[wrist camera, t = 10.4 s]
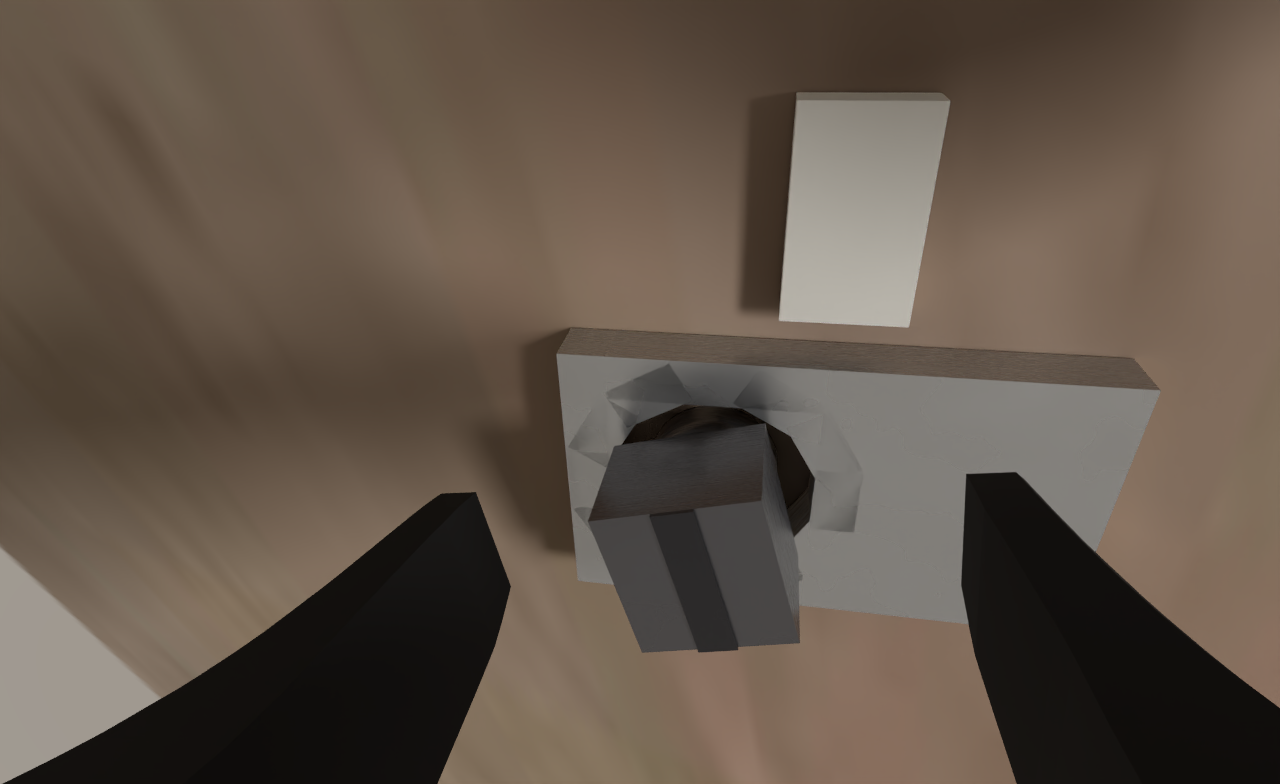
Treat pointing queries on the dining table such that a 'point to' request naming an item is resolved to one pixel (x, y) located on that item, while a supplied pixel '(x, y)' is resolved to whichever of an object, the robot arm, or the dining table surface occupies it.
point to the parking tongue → (859, 205)
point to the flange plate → (869, 444)
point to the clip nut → (700, 535)
